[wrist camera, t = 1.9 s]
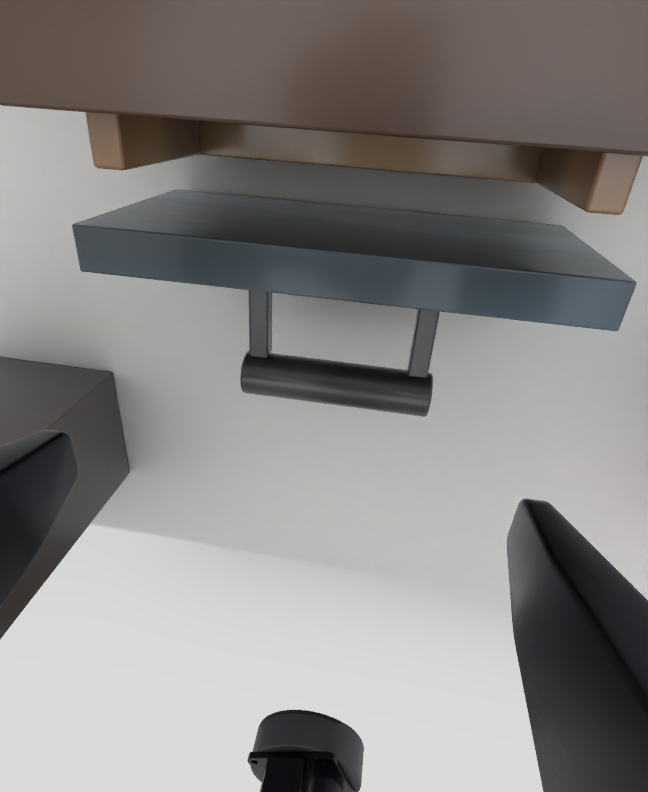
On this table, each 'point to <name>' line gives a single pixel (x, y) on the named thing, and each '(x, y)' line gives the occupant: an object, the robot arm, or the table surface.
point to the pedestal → (93, 442)
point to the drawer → (359, 244)
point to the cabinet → (344, 66)
